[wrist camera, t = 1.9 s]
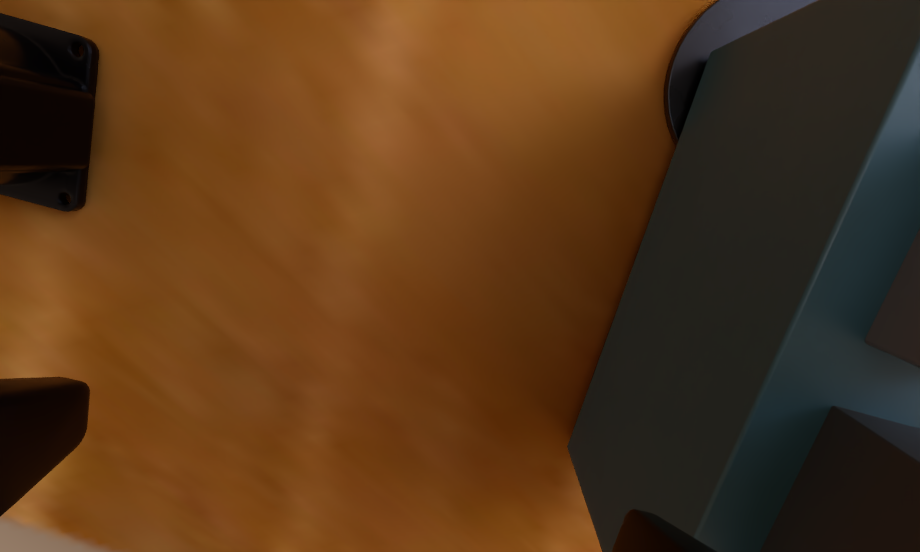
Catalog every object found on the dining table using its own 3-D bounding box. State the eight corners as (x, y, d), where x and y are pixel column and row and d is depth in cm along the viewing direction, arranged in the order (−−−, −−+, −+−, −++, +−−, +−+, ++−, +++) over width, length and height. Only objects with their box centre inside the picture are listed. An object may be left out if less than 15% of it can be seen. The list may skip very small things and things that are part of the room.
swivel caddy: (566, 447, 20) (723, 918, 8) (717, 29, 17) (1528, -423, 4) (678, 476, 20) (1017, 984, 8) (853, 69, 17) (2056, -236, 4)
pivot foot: (636, 157, 18) (639, 157, 18) (705, -43, 17) (711, -48, 16) (809, 207, 18) (816, 207, 18) (894, 14, 17) (903, 10, 17)
